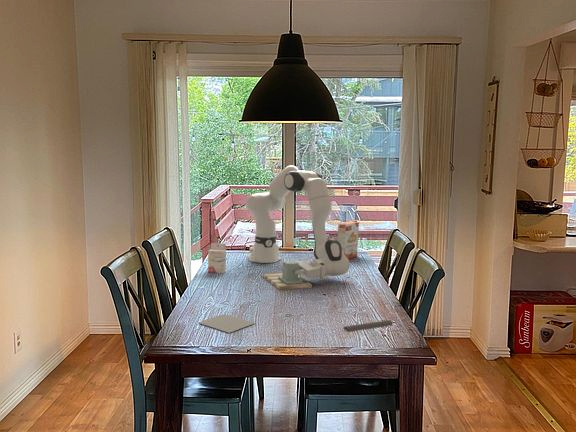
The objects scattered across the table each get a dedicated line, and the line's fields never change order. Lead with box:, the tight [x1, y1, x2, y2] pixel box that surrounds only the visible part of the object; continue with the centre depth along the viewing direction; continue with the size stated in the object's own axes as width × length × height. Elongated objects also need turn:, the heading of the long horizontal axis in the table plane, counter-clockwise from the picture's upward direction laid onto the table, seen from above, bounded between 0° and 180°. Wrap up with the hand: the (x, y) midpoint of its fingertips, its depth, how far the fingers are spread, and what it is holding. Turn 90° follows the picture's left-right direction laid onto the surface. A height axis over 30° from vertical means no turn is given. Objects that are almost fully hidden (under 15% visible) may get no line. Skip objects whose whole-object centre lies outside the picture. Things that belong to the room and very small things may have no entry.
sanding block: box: [278, 260, 303, 285], centre depth 269 cm, size 12×8×9 cm, turn 20°
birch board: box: [262, 271, 313, 291], centre depth 274 cm, size 26×16×2 cm, turn 20°
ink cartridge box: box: [207, 242, 227, 274], centre depth 291 cm, size 9×5×15 cm, turn 84°
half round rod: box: [343, 319, 393, 332], centre depth 212 cm, size 4×20×2 cm, turn 114°
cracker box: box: [337, 220, 360, 260], centre depth 329 cm, size 14×6×21 cm, turn 141°
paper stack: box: [197, 313, 255, 334], centre depth 213 cm, size 23×25×1 cm
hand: (291, 269), depth 268 cm, fingers open, 8 cm apart
